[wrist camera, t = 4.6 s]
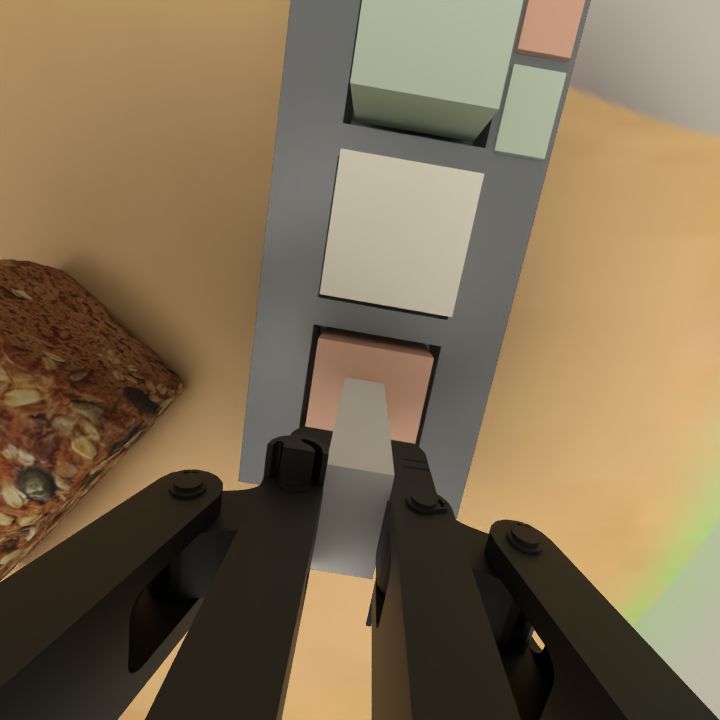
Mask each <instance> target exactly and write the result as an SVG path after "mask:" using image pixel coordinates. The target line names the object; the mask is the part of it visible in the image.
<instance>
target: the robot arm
mask: <svg viewBox="0 0 720 720" xmlns="http://www.w3.org/2000/svg"><path fill="white" fill-rule="evenodd" d="M375 565H376V581H375V585H374V590H373V594H372V599H371V604H370V608H369V613H368V618H367V622H366V626H371V624H372V720H719V719H718V718H717V717H716V716H715V715H714V714H713V713H712V712H711V710H710V709H709V708H708V707H707V706H706V705H705V704H704V703H703V702H702V701H701V700H700V699H699V698H698V697H697V696H696V694H695V693H694V692H693V691H692V690H691V689H690V688H689V687H688V686H687V685H686V684H685V683H684V682H683V681H682V679H680V677H679V676H678V675H677V674H676V673H675V672H674V671H673V670H672V669H671V668H670V667H669V666H668V665H667V664H666V662H665V661H664V660H663V659H662V658H661V657H660V656H659V655H658V654H657V653H656V652H655V651H654V650H653V649H652V647H651V646H650V645H648V643H647V642H646V641H645V640H644V639H643V638H642V637H641V636H640V635H639V634H638V633H637V632H636V630H635V629H634V628H633V627H632V626H631V625H630V624H629V623H628V622H627V621H626V620H625V619H624V618H623V617H622V615H621V614H620V613H619V612H618V611H617V610H616V609H615V608H614V607H613V606H612V605H611V604H610V603H609V602H608V600H607V599H606V598H605V597H604V596H603V595H602V594H601V593H600V592H599V591H598V590H597V589H596V588H595V587H594V586H593V584H592V583H591V582H590V581H589V580H588V579H587V578H586V577H585V576H584V575H583V574H582V573H581V572H580V571H579V570H578V568H577V567H576V566H575V565H574V564H573V563H572V562H571V561H570V560H569V559H568V558H567V557H566V556H565V555H564V554H563V552H562V551H561V550H560V549H559V548H558V547H557V546H556V545H555V544H554V543H553V542H552V541H551V540H550V539H549V538H548V537H546V536H545V535H544V534H543V533H542V532H540V531H538V530H536V529H535V528H533V527H532V526H530V525H528V524H525V523H523V522H519V521H512V520H500V521H496V522H495V523H494V524H493V525H491V528H490V532H489V534H487V533H485V532H482V531H479V530H477V529H474V528H471V527H469V526H467V525H464V524H462V523H460V522H459V521H457V520H456V518H455V515H454V512H453V509H452V508H451V506H450V504H449V503H448V502H447V501H446V500H445V499H444V498H442V497H441V496H440V495H438V494H437V492H436V489H435V485H434V482H433V478H432V475H431V472H430V468H429V464H428V461H427V457H426V454H425V452H424V451H423V450H422V449H421V448H420V447H419V446H418V445H417V444H414V443H408V442H402V441H396V440H391V439H390V430H389V420H388V411H387V402H386V393H385V384H383V383H377V382H371V381H365V380H359V379H354V378H348V377H345V380H344V385H343V389H342V394H341V399H340V403H339V408H338V412H337V417H336V421H335V426H334V430H333V431H329V430H323V429H317V428H312V427H306V426H301V427H300V428H298V429H296V430H295V431H293V432H292V433H291V435H286V436H280V437H277V438H274V439H272V440H271V441H270V442H269V443H268V444H267V451H266V459H265V467H264V475H263V480H262V482H261V484H260V486H258V487H255V488H251V489H246V490H235V491H223V483H222V481H221V480H220V479H219V478H218V476H216V475H214V474H212V473H210V472H206V471H200V470H183V471H178V472H173V473H170V474H168V475H166V476H164V477H161V478H160V479H158V480H157V481H155V482H153V483H152V484H150V485H149V486H147V487H146V488H144V489H143V490H141V491H140V492H138V493H137V494H135V495H133V496H132V497H130V498H129V499H127V500H126V501H124V502H123V503H121V504H120V505H118V506H117V507H115V508H114V509H112V510H110V511H109V512H107V513H106V514H104V515H103V516H101V517H100V518H98V519H97V520H95V521H94V522H92V523H91V524H89V525H87V526H86V527H84V528H83V529H81V530H80V531H78V532H77V533H75V534H74V535H72V536H71V537H69V538H67V539H66V540H64V541H63V542H61V543H60V544H58V545H57V546H55V547H54V548H52V549H51V550H49V551H48V552H46V553H44V554H43V555H41V556H40V557H38V558H37V559H35V560H34V561H32V562H31V563H29V564H28V565H26V566H24V567H23V568H21V569H20V570H18V571H17V572H15V573H14V574H12V575H11V576H9V577H8V578H6V579H5V580H3V581H1V582H0V720H118V718H119V717H120V716H121V715H122V713H123V712H124V711H125V709H126V708H127V707H128V706H129V704H130V703H131V702H132V701H133V699H134V698H135V697H136V696H137V694H138V693H139V692H140V691H141V689H142V688H143V687H144V686H145V684H146V683H147V682H148V680H149V679H150V678H151V677H152V675H153V674H154V673H155V672H156V670H157V669H158V668H159V667H160V665H161V664H162V663H163V662H164V660H165V659H166V658H167V657H168V655H169V654H170V653H171V651H172V650H173V649H174V648H175V646H176V645H177V644H178V643H179V641H180V640H181V639H182V638H183V636H184V635H185V634H186V633H187V631H188V630H189V631H188V633H187V635H186V637H185V639H184V641H183V643H182V645H181V647H180V649H179V651H178V653H177V655H176V657H175V659H174V661H173V663H172V665H171V667H170V670H169V672H168V674H167V676H166V678H165V680H164V682H163V684H162V686H161V688H160V690H159V692H158V694H157V696H156V698H155V700H154V702H153V704H152V706H151V708H150V710H149V712H148V714H147V716H146V718H145V720H282V714H283V709H284V704H285V699H286V694H287V688H288V683H289V678H290V673H291V668H292V662H293V657H294V652H295V647H296V642H297V636H298V631H299V626H300V621H301V616H302V610H303V605H304V600H305V595H306V590H307V584H308V578H309V572H310V569H313V570H319V571H325V572H331V573H337V574H343V575H350V576H356V577H362V578H368V579H373V574H374V570H375ZM534 630H535V631H536V633H537V634H538V636H539V637H540V639H541V640H542V642H543V643H544V645H545V647H544V649H543V650H541V648H540V647H539V646H538V645H537V643H536V642H535V640H534V639H533V637H532V634H533V631H534Z"/></svg>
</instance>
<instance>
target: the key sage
mask: <svg viewBox="0 0 720 720" xmlns="http://www.w3.org/2000/svg"><path fill="white" fill-rule="evenodd" d="M522 5H523V0H362V4H361V11H360V18H359V25H358V32H357V39H356V46H355V53H354V60H353V67H352V74H351V80H350V86H351V93H352V101H353V108H354V116H355V121H358V122H363V123H369V124H375V125H380V126H386V127H392V128H397V129H403V130H409V131H414V132H420V133H426V134H431V135H437V136H443V137H448V138H454V139H460V140H465V141H471V142H474V140H475V139H476V138H477V137H478V135H479V134H480V133H481V131H482V130H483V129H484V128H485V126H486V125H487V124H488V123H489V121H490V120H491V119H492V117H493V116H494V115H495V114H496V112H497V111H498V110H499V107H500V102H501V98H502V93H503V89H504V84H505V80H506V76H507V71H508V67H509V62H510V58H511V53H512V49H513V44H514V40H515V36H516V31H517V27H518V22H519V18H520V13H521V9H522Z"/></svg>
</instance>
